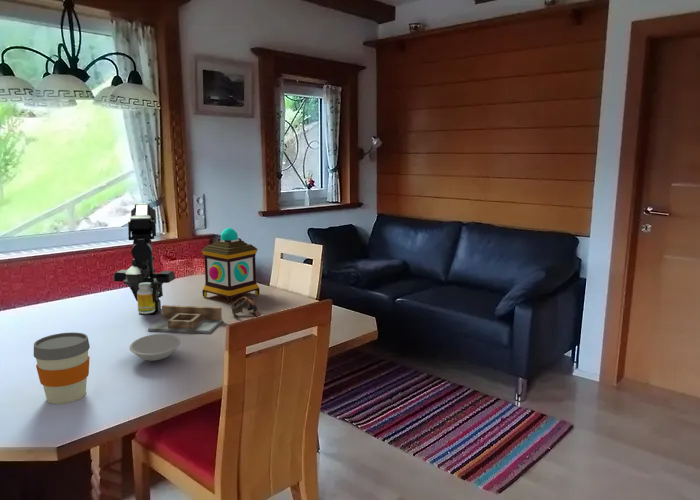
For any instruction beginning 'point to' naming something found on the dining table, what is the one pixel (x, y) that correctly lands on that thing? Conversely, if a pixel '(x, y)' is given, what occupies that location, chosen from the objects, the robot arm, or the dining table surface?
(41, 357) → the reusable coffee cup
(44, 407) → the dining table surface
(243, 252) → the decorative lantern
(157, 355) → the dish
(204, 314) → the board
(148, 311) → the supplement bottle
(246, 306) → the grey-brown curved piece
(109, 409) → the dining table surface
